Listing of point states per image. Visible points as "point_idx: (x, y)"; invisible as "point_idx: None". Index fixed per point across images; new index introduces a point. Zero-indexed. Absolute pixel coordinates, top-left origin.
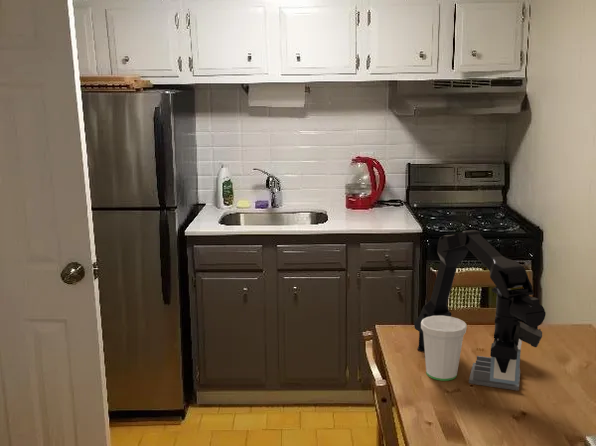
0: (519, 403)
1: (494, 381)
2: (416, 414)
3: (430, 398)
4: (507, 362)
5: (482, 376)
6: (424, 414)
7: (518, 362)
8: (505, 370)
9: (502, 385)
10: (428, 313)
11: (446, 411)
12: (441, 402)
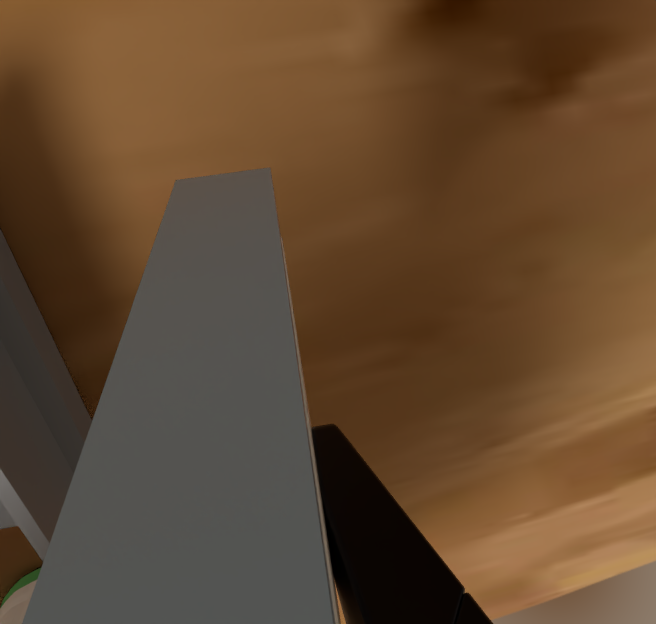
0: (254, 79)
1: (14, 376)
2: (616, 542)
3: None
4: (479, 620)
5: (46, 476)
6: (611, 522)
7: (303, 451)
8: (357, 460)
9: (17, 301)
10: None
11: (561, 468)
12: (463, 511)
